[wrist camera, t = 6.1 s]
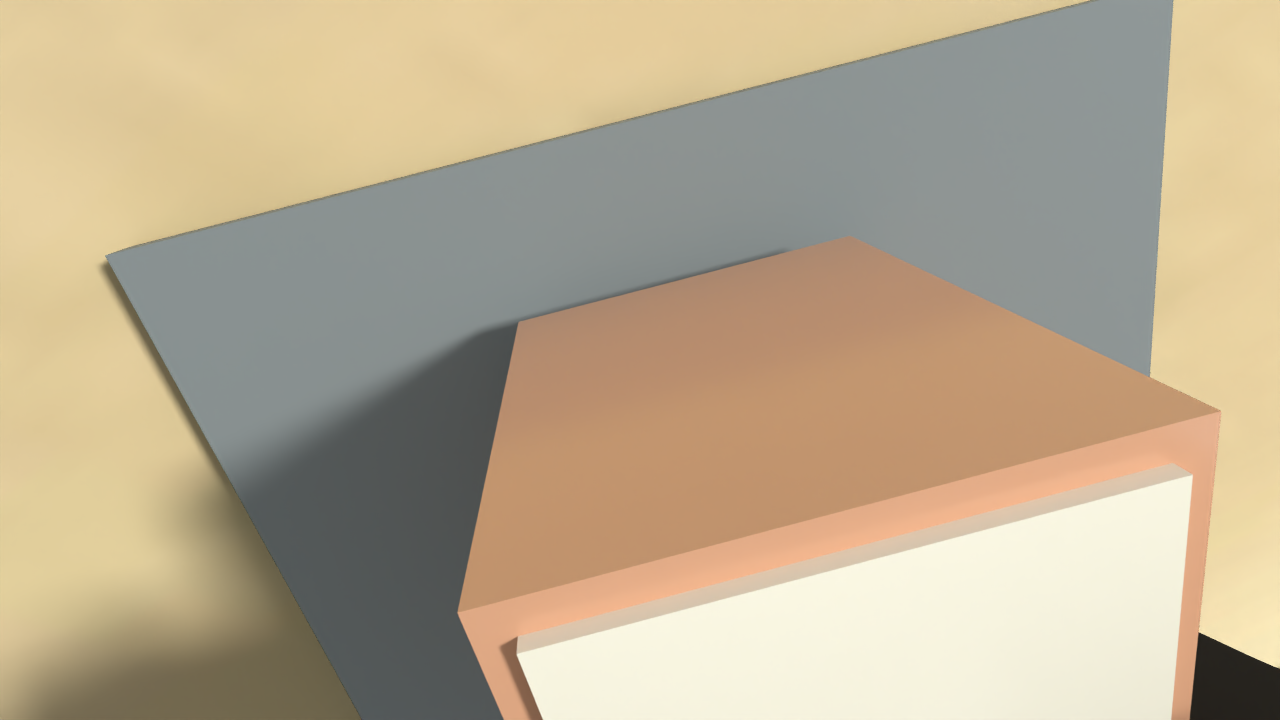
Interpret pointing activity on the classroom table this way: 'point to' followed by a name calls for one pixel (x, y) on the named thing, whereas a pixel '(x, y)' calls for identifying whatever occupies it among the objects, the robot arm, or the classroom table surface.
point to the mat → (627, 289)
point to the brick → (835, 509)
